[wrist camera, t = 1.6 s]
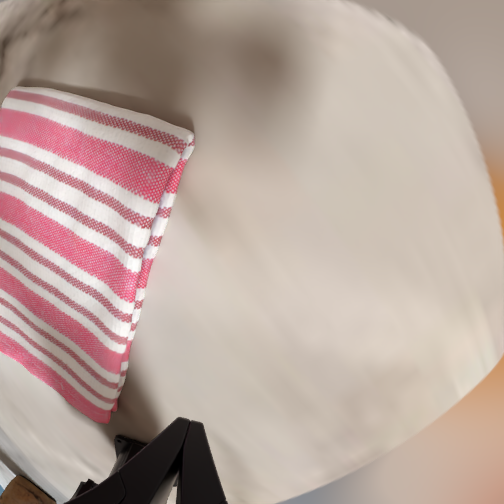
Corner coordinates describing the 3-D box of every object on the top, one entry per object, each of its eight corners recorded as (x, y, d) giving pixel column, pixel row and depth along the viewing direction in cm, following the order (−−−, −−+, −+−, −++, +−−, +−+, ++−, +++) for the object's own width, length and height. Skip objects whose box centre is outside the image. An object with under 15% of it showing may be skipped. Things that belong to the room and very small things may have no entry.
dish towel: (-10, 324, 20) (-31, 337, 16) (25, 85, 15) (-2, 77, 11) (121, 411, 21) (107, 437, 17) (208, 131, 16) (196, 118, 12)
